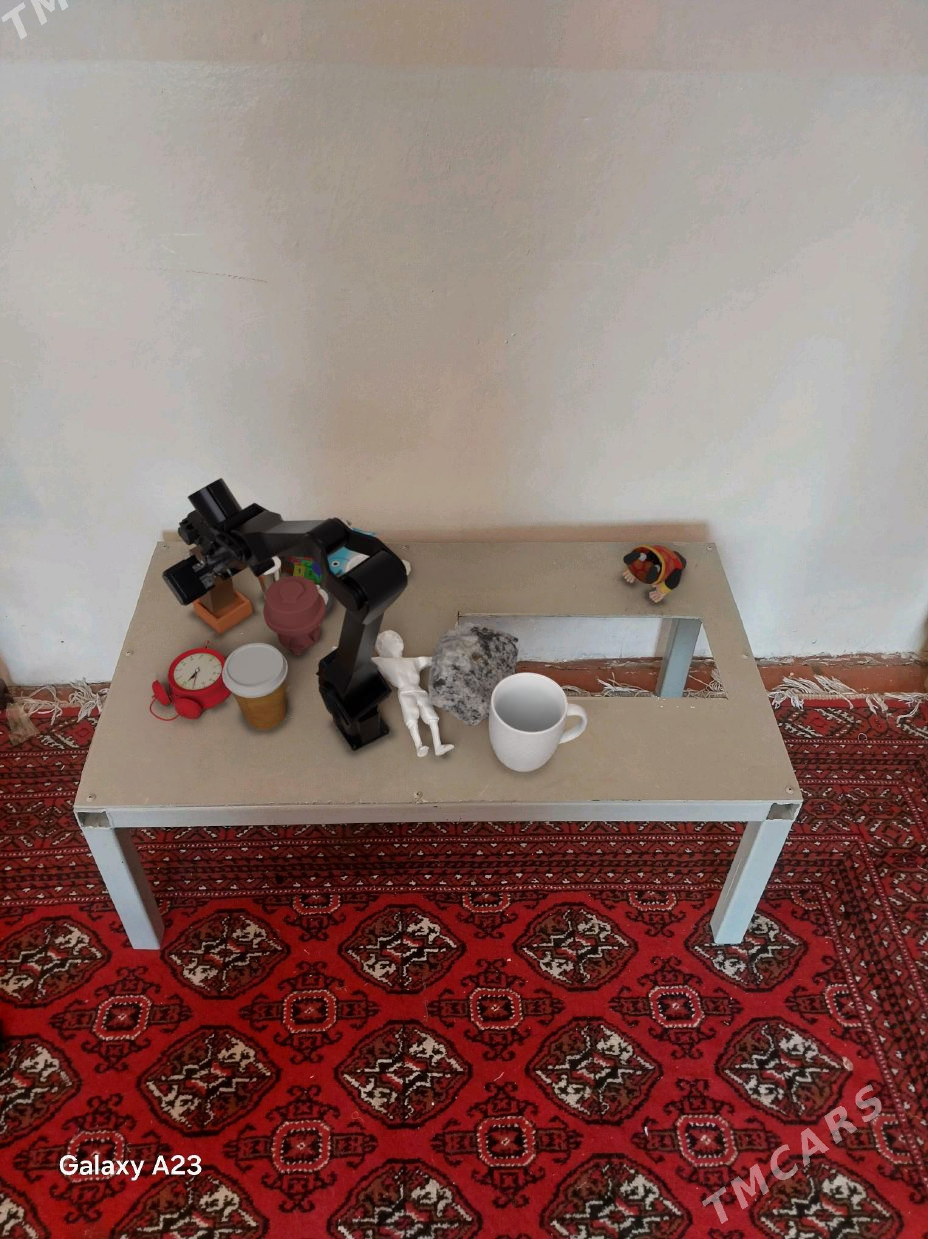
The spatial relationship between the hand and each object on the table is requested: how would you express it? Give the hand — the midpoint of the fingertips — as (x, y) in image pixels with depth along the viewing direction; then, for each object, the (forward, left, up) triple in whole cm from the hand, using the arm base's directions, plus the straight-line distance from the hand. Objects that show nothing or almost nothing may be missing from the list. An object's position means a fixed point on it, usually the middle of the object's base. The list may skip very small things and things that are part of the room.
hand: (208, 568), depth 143 cm
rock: (-41, -30, 0) cm, 51 cm away
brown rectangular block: (-1, 0, -6) cm, 7 cm away
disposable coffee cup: (-25, +3, -10) cm, 27 cm away
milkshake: (-2, -9, -10) cm, 14 cm away
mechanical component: (-14, -9, -10) cm, 19 cm away
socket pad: (-1, 0, -10) cm, 10 cm away
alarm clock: (-15, +10, -10) cm, 21 cm away
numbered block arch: (+1, -17, -10) cm, 19 cm away
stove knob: (-7, -14, -10) cm, 19 cm away
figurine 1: (-47, -16, -5) cm, 50 cm away
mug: (-53, -28, -10) cm, 61 cm away
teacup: (-9, -25, -10) cm, 28 cm away
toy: (-3, -29, -9) cm, 31 cm away
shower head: (+9, -28, -9) cm, 31 cm away
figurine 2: (-37, -62, -3) cm, 72 cm away
